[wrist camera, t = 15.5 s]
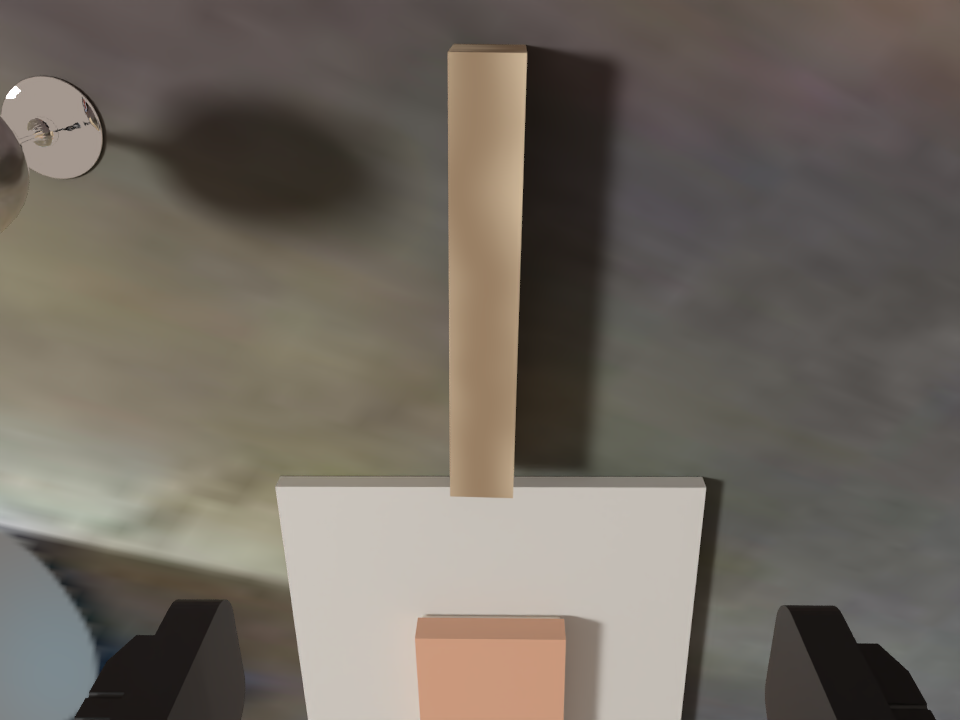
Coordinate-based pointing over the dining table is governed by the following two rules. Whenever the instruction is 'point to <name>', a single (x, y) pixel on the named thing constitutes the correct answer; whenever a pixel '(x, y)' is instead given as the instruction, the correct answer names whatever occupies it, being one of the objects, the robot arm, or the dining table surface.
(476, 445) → the oak stick
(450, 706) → the tile
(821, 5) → the dining table surface
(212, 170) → the dining table surface
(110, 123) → the dining table surface
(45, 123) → the wineglass
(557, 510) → the white panel
